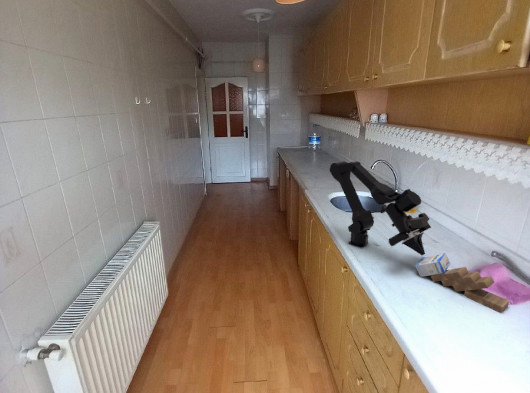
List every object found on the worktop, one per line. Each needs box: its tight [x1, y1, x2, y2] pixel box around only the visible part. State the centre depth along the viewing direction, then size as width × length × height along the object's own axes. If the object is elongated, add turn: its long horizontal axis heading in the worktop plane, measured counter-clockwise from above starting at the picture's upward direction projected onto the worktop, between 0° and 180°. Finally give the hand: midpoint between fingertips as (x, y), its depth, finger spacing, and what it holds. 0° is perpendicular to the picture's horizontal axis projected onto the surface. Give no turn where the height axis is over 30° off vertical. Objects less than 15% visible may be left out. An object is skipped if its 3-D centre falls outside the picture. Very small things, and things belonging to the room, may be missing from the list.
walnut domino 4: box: [463, 289, 510, 313], centre depth 92 cm, size 2×5×10 cm
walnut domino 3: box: [452, 275, 495, 292], centre depth 95 cm, size 2×5×10 cm
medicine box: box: [415, 252, 451, 278], centre depth 106 cm, size 8×4×9 cm
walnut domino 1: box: [430, 266, 470, 283], centre depth 100 cm, size 2×5×10 cm
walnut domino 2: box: [440, 270, 482, 287], centre depth 98 cm, size 2×5×10 cm
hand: (423, 254), depth 107 cm, fingers closed
